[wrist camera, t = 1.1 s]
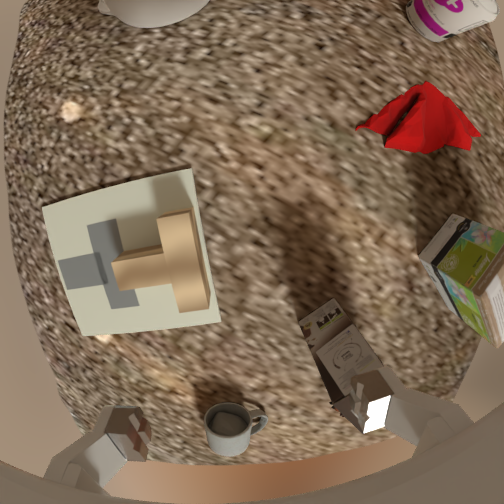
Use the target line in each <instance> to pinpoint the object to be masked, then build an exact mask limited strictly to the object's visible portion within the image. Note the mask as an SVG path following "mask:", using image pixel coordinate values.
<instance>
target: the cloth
mask: <svg viewBox="0 0 504 504" xmlns="http://www.w3.org/2000/svg"><path fill="white" fill-rule="evenodd" d="M416 99H417V101H416V102H415V100H416ZM414 102H415V104H414ZM405 112H409V113H408V114H407V116H406V117H405V118H404V119H403V120H402V122H401V123H400V124H399V125H398V126H397V127H396V128H395V126H396V125H397V123H398V121H399V120H400V119H401V117H402V116H403V115H404V114H405ZM360 127H366V128H369V129H371V130H373V131H374V132H376V133H379V134H383V135H387V136H388V137H387V141H386V144H385V146H384V147H385V148H395V149H400V150H405V151H409V152H414V153H416V152H421V153H423V154H428V153H430V152H432V151H435V150H437V149H439V148H441V147H443V146H444V144H446V145H449V146H454V147H458V148H462V149H466V150H470V149H471V143H472V138H471V136H472V137H480V136H481V134H480V133H479V132H478V130H477V129H476V128H475V127H474V126H473V125H472V123H471V122H470V121H469V120H468V118H467V117H466V116H465V114H464V113H463V112H462V111H461V110H460V109H459V108H457V107H456V105H455V104H454V103H453V102H452V101H451V99H450V98H448V97H445V96H444V95H443V94H442V93H441V92H440V91H439V90H438V89H437V88H436V87H435V86H434V85H432V84H431V83H429V82H427V81H425V82H424V84H423V85H415V86H413V87H411V89H409V90H408V91H407V92H405V95H402V94H401V95H399V96H398V97H397V98H396V99H394V100H392V101H391V102H390V103H389V104H388V105H386V106H384V108H383V109H382V110H381V111H380V112H379V113H378V114H374V115H373V116H372V117H370V118H369V119H368V120H367V122H366V123H365V124H362V125H359V126H357V128H356V130H358V129H359V128H360ZM394 128H395V130H394ZM356 130H355V131H356ZM393 130H394V131H393ZM470 135H471V136H470Z"/></svg>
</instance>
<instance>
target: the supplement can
mask: <svg viewBox="0 0 504 504" xmlns="http://www.w3.org/2000/svg"><path fill="white" fill-rule="evenodd" d="M406 13H407V16H408V19H409V21H410V23H411V24H412V26H413V27H414V28H415V29H416V31H417V32H419V33H420V34H421V35H422V36H424V37H425V38H427V39H429V40H431V41H434V42H440V41H443V40H445V39H447V38H450V37H452V36H455V35H457V34H459V33H462V32H464V31H467V30H470V29H472V28H475V27H478V26H480V25H483V24H486V23H489V22H491V21H494V20H495V17H496V16H497V15H498V14H499V6H498V4H497V2H496V0H411V1H409V2H408V3H407V5H406Z"/></svg>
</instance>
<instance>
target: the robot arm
mask: <svg viewBox="0 0 504 504" xmlns="http://www.w3.org/2000/svg"><path fill="white" fill-rule="evenodd" d="M209 1H210V0H99V3H98V10H99V12H100V13H102V14H107V15H114V16H116V17H117V18H119V19H120V20H121V21H122V22H124V23H126V24H128V25H130V26H134V27H140V28H154V27H161V26H166V25H170V24H173V23H176V22H179V21H181V20H183V19H186V18H188V17H190V16H191V15H193V14H195V13H196V12H198V11H199V10H200V9H202V8H203V7H204V6H205V5H206V4H207V3H208V2H209ZM350 384H351V386H352V388H353V389H352V390H351V391H350V397H349V399H350V405H351V408H352V410H353V412H354V414H356V415H358V416H359V417H358V422H359V424H360V426H361V428H362V430H363V432H364V433H365V432H369V431H372V430H375V429H378V428H381V427H384V428H386V429H387V430H389V431H391V432H393V433H394V434H396V435H398V436H400V437H401V438H403V439H405V440H407V441H408V442H410V443H412V444H414V445H416V446H417V448H416V450H415V452H414V454H413V456H412V458H410V459H408V460H406V461H403V462H401V463H399V464H397V465H394V466H392V467H389V468H387V469H384V470H381V471H379V472H376V473H373V474H371V475H368V476H365V477H362V478H359V479H356V480H353V481H349V482H346V483H343V484H339V485H336V486H332V487H329V488H325V489H321V490H316V491H312V492H308V493H303V494H298V495H293V496H288V497H282V498H275V499H269V500H260V501H251V502H241V503H227V504H504V402H503V403H502V404H501V405H499V406H498V407H497V408H495V409H494V410H492V411H491V412H490V413H488V414H487V415H486V416H484V417H483V418H481V419H480V420H478V421H477V422H475V423H474V422H473V421H472V420H471V419H470V417H469V416H468V415H467V414H466V413H465V412H464V410H463V409H462V408H461V407H460V406H459V405H458V404H455V403H452V402H449V401H446V400H443V399H440V398H437V397H434V396H431V395H428V394H425V393H422V392H420V391H417V390H414V389H411V388H410V389H407V388H406V387H405V386H404V385H403V383H402V382H401V381H400V379H399V378H398V377H397V376H396V374H395V373H394V372H393V370H392V369H391V368H390V367H389V366H384V367H381V368H378V369H375V370H372V371H369V372H365V373H362V374H359V375H355V376H352V378H351V383H350ZM142 416H143V411H142V410H141V408H140V407H137V406H112V405H105V406H104V407H103V409H102V411H101V413H100V415H99V418H98V420H97V422H96V424H95V427H94V429H93V431H92V432H88V433H87V434H85V435H84V436H83V437H81V438H80V439H78V440H77V441H76V442H74V443H73V444H71V445H70V446H69V447H67V448H66V449H64V450H63V451H61V452H60V453H58V454H57V455H56V456H54V457H53V458H52V460H51V462H50V464H49V466H48V468H47V471H46V473H45V475H44V477H43V478H41V477H39V476H36V475H33V474H30V473H28V472H26V471H23V470H21V469H18V468H16V467H14V466H11V465H9V464H7V463H5V462H3V461H1V460H0V504H172V503H158V502H147V501H139V500H131V499H124V498H118V497H112V496H110V495H109V494H108V493H107V492H106V491H105V490H104V489H103V487H104V486H105V485H106V484H107V483H108V481H110V480H111V479H112V477H113V476H114V475H115V474H116V473H117V472H118V471H119V470H120V469H121V468H122V467H123V465H125V464H126V462H127V461H142V462H145V461H146V459H147V454H148V450H149V449H148V448H147V446H146V445H147V444H148V443H149V442H150V441H151V436H152V435H151V427H150V424H149V422H148V420H146V419H145V418H143V417H142Z"/></svg>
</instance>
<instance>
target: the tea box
mask: <svg viewBox="0 0 504 504" xmlns="http://www.w3.org/2000/svg"><path fill="white" fill-rule="evenodd" d="M418 257H419V259H420V260H421V262H422V264H423V266H424V267H425V269H426V270H427V272H428V274H429V275H430V277H431V279H432V281H433V282H434V284H435V285H436V287H437V289H438V291H439V293H440V294H441V296H442V298H443V300H444V301H445V303H446V305H447V307H448V308H449V309H450V310H451V311H452V312H453V313H455V314H456V315H457V316H458V317H460V318H461V319H462V320H463V321H464V322H466V323H467V324H468V325H469V326H471V327H472V328H473V329H474V330H475V331H476V332H477V333H479V334H480V335H481V336H482V337H483V338H485V339H486V340H487V341H488V342H489V343H490V344H492V345H493V346H494V347H495V348H499V346H500V345H501V344H502V343H503V341H504V233H503V232H501V231H498V230H496V229H493V228H491V227H488V226H486V225H483V224H481V223H478V222H475V221H472V220H469V219H466V218H464V217H461V216H459V215H456V214H452V215H451V216H450V217H449V218H448V220H447V221H446V222H445V224H444V225H443V226H442V227H441V229H440V230H439V231H438V232H437V233H436V235H435V236H434V237H433V239H432V240H431V241H430V242H429V243H428V245H427V246H426V247H425V248H424V249H423V251H422V252H421V253H420V254H419V255H418Z"/></svg>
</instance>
